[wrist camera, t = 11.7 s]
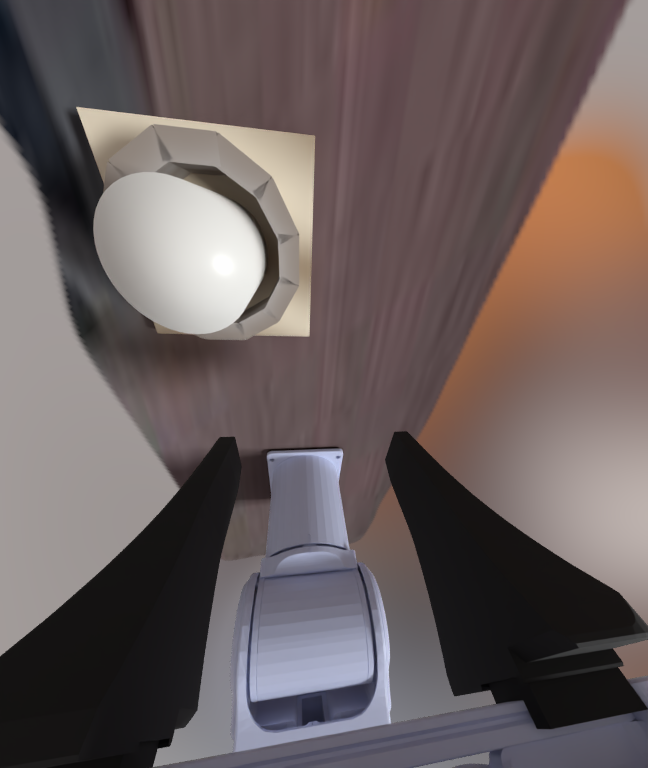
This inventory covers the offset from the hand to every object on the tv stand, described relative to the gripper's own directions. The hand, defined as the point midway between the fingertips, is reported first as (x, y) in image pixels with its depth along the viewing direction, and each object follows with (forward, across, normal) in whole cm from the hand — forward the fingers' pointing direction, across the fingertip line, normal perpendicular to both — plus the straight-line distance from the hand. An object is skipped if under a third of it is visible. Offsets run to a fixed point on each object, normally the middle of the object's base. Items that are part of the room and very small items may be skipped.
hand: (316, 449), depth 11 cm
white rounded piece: (+8, +5, -7) cm, 12 cm away
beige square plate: (+9, +5, -7) cm, 13 cm away
